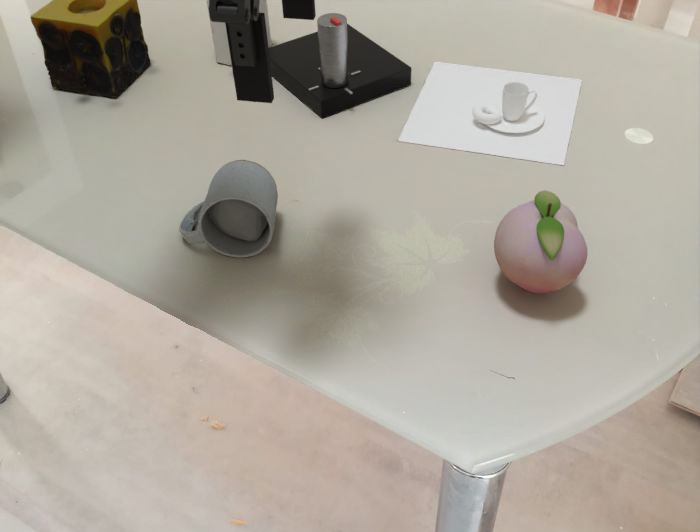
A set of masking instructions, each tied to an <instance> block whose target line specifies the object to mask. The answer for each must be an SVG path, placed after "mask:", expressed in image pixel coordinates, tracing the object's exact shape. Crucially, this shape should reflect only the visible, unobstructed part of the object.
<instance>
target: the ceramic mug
mask: <svg viewBox="0 0 700 532" xmlns="http://www.w3.org/2000/svg"><path fill="white" fill-rule="evenodd" d="M208 186H209V187H208V189H207V193H206V196H205V198H204V201H201V202H200V203H197V204H195V205H194V206H193V207H192V208H191V209H190V210H188V212H187V213H186V214H185V215H184V217H183V218H182V220H181V222H180V223H179V226H178V230H179V231H178V232H179V233H180V235H181V236H182V237H183V238H184V239H185V241H186V242H187V243H188V244H192V245H199V244H204V243H205V244H206V245H207V246H208V247H209V248H211V249H212V250H214V251H215V252H217V253H219V254H221V255H224V256H226V257H231V258H240V259H241V258H250V257H254V256H256V255H258V254H260V253H262V252H263V251H265V249H266V248H267V247H268V246H269V245H270V244H271V242H272V239H273V236H274V229H275V223H276V215H277V213H276V212H277V207H278V197H279V195H278V185H277V183H276V181H275V178H274V176H273V175H272V173H271V172H270V171H269V170H268V169H267V168H265V167H264V166H263V165H262V164H260V163H258V162H255V161H252V160H247V159H235V160H232V161H229V162H226V163H225V164H224V165H222V166H221V167H220V168H218V170H217V171H216V173H214V175H213V177H212V178H211V181H210V183H209V185H208ZM195 224H197V225H198V229H197V230H193V228H194V226H195Z"/></svg>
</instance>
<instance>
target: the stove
mask: <svg viewBox="0 0 700 532" xmlns="http://www.w3.org/2000/svg"><path fill="white" fill-rule="evenodd" d="M347 38H348V67H349V82H348V83H347V84H346V85H345V86H343V87H339V88H329V87H326V86H324V85H323V84H322V83H321V73H320V57H319V42H318V31H315V32H312V33H309V34H305V35H302V36H299V37H297V38H294V39H290V40H287V41H284V42H282V43H279V44H276V45H273V46H272V47H269V57H270V65H271V74H272V78H273V79H275V80H276V81H277V82H278V83H280V85H282V86H283V87H284V88H285V89H286V90H287V91H289V92H290V94H292V95H294V96H295V97H296V98H297V99H298V100H300V102H302V104H304V105H305V106H307V107H308V108H309V109H310V110H311V111H313V113H315V114H316V115H317V116H318V117H319V118H321V119H324V118H327V117H329V116H332V115H335V114H338V113H341V112H343V111H346V110H349V109H351V108H353V107H356V106H359V105H361V104H364V103H367V102H369V101H372V100H374V99H377V98H380V97H382V96H385V95H388V94H391V93H393V92H396V91H398V90H401V89H403V88H406V87H409V86H411V85H412V67H411V66H410V65H408V64H407V63H406V62H404V61H403V60H401V59H400V58H398V57H397V56H395V55H394V54H393V53H391V52H390V51H388V50H387V49H386V48H384V47H382V46H381V45H379V44H378V43H377V42H375V41H374V40H372V39H371V38H369V37H368V36H366V35H365V34H363V33H362V32H360V31H359V30H358V29H356V28H355V27H354V26H351V25H350V24H349V23H347Z"/></svg>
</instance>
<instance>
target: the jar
mask: <svg viewBox="0 0 700 532" xmlns="http://www.w3.org/2000/svg"><path fill="white" fill-rule="evenodd" d="M206 4H207V5H206V6H207V12H208V13H209V0H206ZM259 13H265V22H266V31H267V39H268V48H269V47H272V35H271V26H270V16H269V8H268V0H260V3H259ZM208 18H209V23H210V29H211V35H212V42H213V46H214V53H215V59H216V62H217V63H218V64H223V65H228V66H232V63H231V57H230V50H229V44H228V37H227V31H226V24H225V23H224V22H212V21H211V19H210V15H209V14H208Z"/></svg>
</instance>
